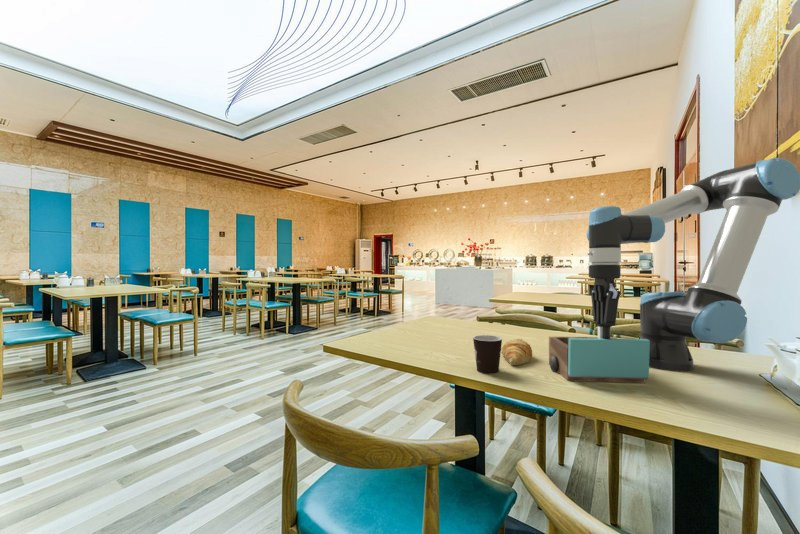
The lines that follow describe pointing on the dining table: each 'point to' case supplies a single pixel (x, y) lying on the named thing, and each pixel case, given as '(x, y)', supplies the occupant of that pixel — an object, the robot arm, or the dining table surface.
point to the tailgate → (608, 358)
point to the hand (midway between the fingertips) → (603, 349)
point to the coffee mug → (487, 353)
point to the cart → (560, 361)
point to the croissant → (517, 352)
